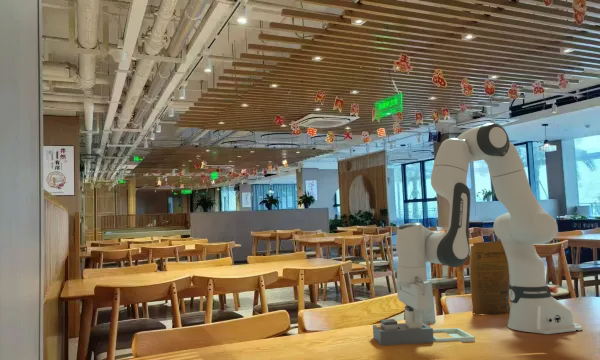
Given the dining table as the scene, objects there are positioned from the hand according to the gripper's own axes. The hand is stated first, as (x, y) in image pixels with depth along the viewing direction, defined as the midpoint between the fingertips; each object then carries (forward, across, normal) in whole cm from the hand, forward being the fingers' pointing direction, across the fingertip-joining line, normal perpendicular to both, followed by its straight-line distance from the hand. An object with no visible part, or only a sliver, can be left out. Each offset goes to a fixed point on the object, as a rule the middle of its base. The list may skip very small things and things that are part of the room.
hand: (413, 321), depth 145 cm
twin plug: (+6, 0, +8) cm, 10 cm away
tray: (+6, +2, -11) cm, 13 cm away
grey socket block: (+6, 0, +4) cm, 8 cm away
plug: (+2, 0, 0) cm, 2 cm away
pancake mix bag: (+6, +35, -43) cm, 56 cm away
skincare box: (+7, +26, -11) cm, 29 cm away
